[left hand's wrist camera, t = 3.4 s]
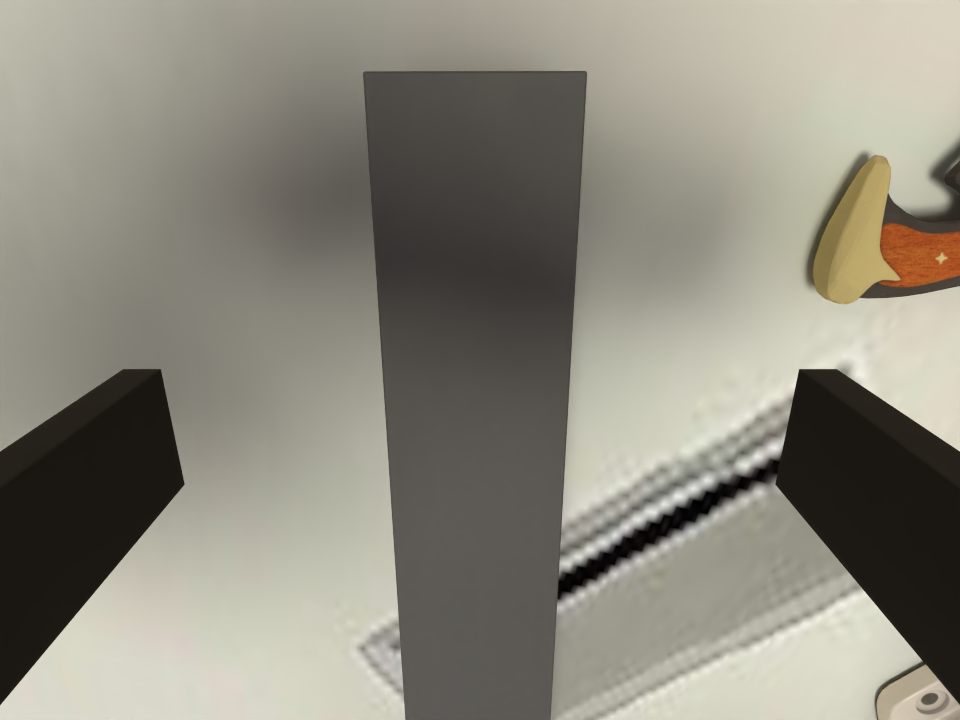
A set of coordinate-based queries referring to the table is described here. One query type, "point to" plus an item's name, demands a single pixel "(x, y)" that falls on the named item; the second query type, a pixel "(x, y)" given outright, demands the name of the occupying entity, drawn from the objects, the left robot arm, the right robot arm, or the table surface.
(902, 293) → the toy gun
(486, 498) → the post
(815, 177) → the table surface
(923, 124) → the table surface
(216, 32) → the table surface
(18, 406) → the table surface
